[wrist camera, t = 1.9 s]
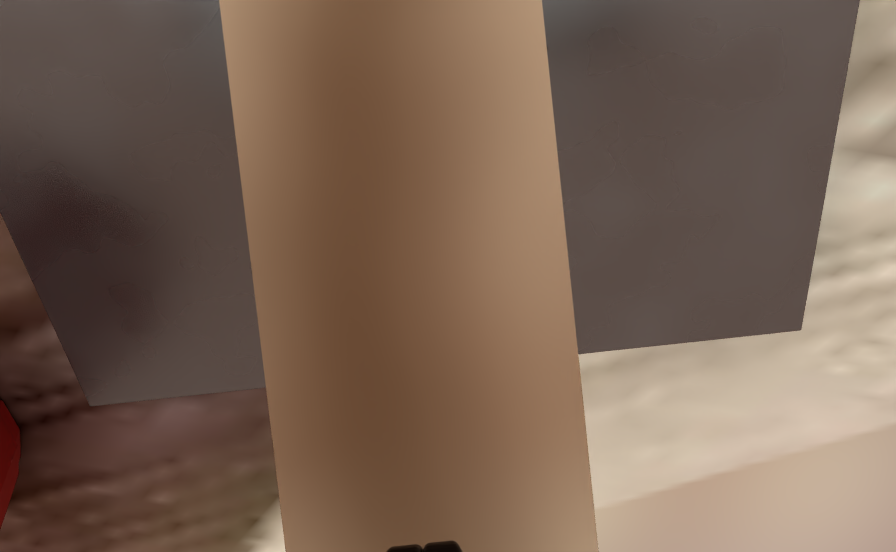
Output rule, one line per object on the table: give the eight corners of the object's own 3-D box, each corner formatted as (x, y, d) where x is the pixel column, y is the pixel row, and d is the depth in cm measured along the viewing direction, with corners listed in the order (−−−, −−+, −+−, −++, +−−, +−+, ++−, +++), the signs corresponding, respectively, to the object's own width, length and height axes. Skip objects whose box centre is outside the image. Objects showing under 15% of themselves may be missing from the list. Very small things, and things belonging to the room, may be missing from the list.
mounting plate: (930, -580, 13) (1127, -716, 9) (786, 309, 23) (856, 408, 19) (-259, -431, 13) (-502, -506, 10) (102, 383, 23) (46, 493, 19)
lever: (491, -365, 13) (497, -459, 12) (585, 545, 14) (604, 589, 12) (202, -330, 13) (163, -418, 12) (310, 573, 14) (289, 622, 12)
